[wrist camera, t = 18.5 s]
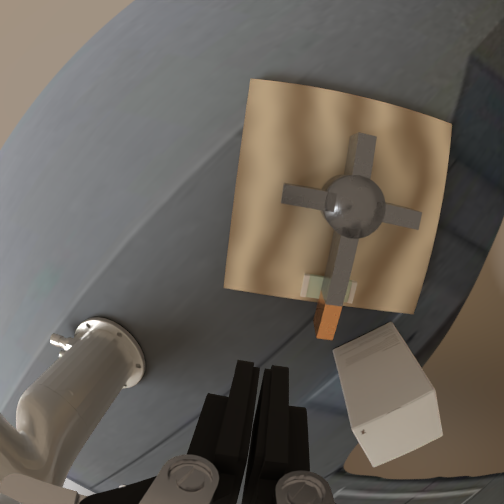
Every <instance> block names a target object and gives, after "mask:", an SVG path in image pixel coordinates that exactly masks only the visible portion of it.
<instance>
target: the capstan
mask: <svg viewBox="0 0 504 504" xmlns="http://www.w3.org/2000/svg"><path fill="white" fill-rule="evenodd" d="M376 139H377V136H373V135H369V134H364V133H360V132H358V133H356V134H354V135H352V136H350V138H349V145H348V152H347V158H346V165H345V171H344V174H341V175H337V176H335V177H333V178H331V179H330V180H328V181H327V182H326V183H325V185H324V186H323V188H322V189H319V188H314V187H308V186H302V185H297V184H291V183H285V182H284V183H283V189H282V196H281V203H282V204H288V205H294V206H299V207H305V208H311V209H316V210H320V211H321V214H322V216H323V217H324V219H325V220H326V221H327V222H328V223H329V225H330V226H331V227H332V228H333V229H334V232H333V237H332V242H331V247H330V251H329V256H328V261H327V265H326V270H325V274H324V279H323V283H322V287H321V292H320V296H319V300H318V304H317V308H316V312H315V316H314V320H313V322H314V327H315V333H316V338H319V339H327V340H333V337H334V334H335V331H336V327H337V324H338V320H339V317H340V313H341V309H342V306H343V302H344V298H345V295H346V291H347V287H348V283H349V279H350V275H351V271H352V267H353V263H354V258H355V254H356V250H357V245H358V241H359V238H363V237H366V236H368V235H370V234H372V233H373V232H374V231H376V230H377V229H378V227H379V226H380V225H381V223H382V222H383V223H388V224H393V225H397V226H402V227H407V228H411V229H416V230H419V226H420V221H421V216H422V212H420V211H417V210H414V209H411V208H408V207H404V206H400V205H396V204H391V203H387V202H385V198H384V195H383V193H382V191H381V189H380V188H379V186H378V185H377V184H376V183H375V182H374V181H372V180H371V172H372V166H373V160H374V153H375V146H376Z"/></svg>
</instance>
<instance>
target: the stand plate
mask: <svg viewBox="0 0 504 504" xmlns="http://www.w3.org/2000/svg"><path fill="white" fill-rule="evenodd" d="M451 130H452V124H450V123H448V122H445V121H442V120H439V119H437V118H434V117H431V116H428V115H425V114H422V113H419V112H415V111H412V110H409V109H406V108H402V107H399V106H395V105H392V104H388V103H385V102H381V101H377V100H373V99H369V98H365V97H361V96H357V95H352V94H348V93H343V92H338V91H333V90H328V89H323V88H317V87H311V86H305V85H299V84H292V83H285V82H277V81H269V80H260V79H251V80H250V87H249V94H248V100H247V107H246V114H245V121H244V128H243V136H242V143H241V150H240V158H239V165H238V173H237V180H236V188H235V196H234V204H233V212H232V220H231V228H230V237H229V245H228V254H227V262H226V271H225V280H224V288H228V289H234V290H240V291H246V292H252V293H258V294H265V295H271V296H278V297H284V298H291V299H298V300H305V301H312V302H318V300H319V299H317V298H309V297H301V296H300V293H301V288H302V283H303V278H304V273H307V274H313V275H320V276H324V274H325V270H326V265H327V261H328V256H329V251H330V247H331V242H332V237H333V232H334V229H333V228H332V227H331V226H330V225H329V223H328V222H327V221H326V220H325V219H324V217H323V216H322V214H321V211H320V210H316V209H311V208H305V207H299V206H294V205H288V204H282V203H281V196H282V189H283V183H284V182H285V183H291V184H297V185H302V186H308V187H314V188H319V189H322V188H323V186H324V185H325V183H326V182H327V181H328V180H330V179H331V178H333V177H335V176H337V175H341V174H344V171H345V165H346V158H347V152H348V145H349V138H350V136H352V135H354V134H356V133H358V132H360V133H364V134H369V135H373V136H377V139H376V146H375V153H374V160H373V166H372V172H371V180H372V181H374V182H375V183H376V184H377V185H378V186H379V188H380V189H381V191H382V193H383V195H384V198H385V202H387V203H391V204H396V205H400V206H404V207H408V208H411V209H414V210H417V211H420V212H422V216H421V221H420V226H419V230H416V229H411V228H407V227H402V226H397V225H393V224H388V223H383V222H382V223H381V225H380V226H379V227H378V229H377V230H376V231H374V232H373V233H372V234H370V235H368V236H366V237H363V238H359V241H358V245H357V250H356V254H355V258H354V263H353V267H352V271H351V275H350V279H349V280H354V281H357V287H356V291H355V295H354V299H353V302H352V304H351V303H346V302H343V306H349V307H357V308H365V309H373V310H382V311H390V312H399V313H408V314H414V311H415V308H416V305H417V301H418V298H419V295H420V292H421V288H422V285H423V282H424V278H425V275H426V271H427V267H428V264H429V260H430V256H431V252H432V248H433V244H434V239H435V235H436V230H437V226H438V221H439V216H440V211H441V205H442V200H443V194H444V188H445V182H446V175H447V168H448V160H449V151H450V141H451Z"/></svg>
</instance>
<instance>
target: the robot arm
mask: <svg viewBox="0 0 504 504" xmlns="http://www.w3.org/2000/svg"><path fill="white" fill-rule="evenodd" d="M50 342H51V344H52V345H55V346H57V347H60V348H64V349H65V351H64V350H61V351H60V353H59V356H60V358H59V359H58V360H56V361H55V362H54V363H53V364H52V365H51V366H50V367H49V368H48V369H47V370H46V371H45V372H44V373H43V374H42V375H41V376H40V377H39V378H38V379H37V380H36V381H35V382H34V383H33V384H32V385H31V386H29V387H28V388H27V389H26V391H25V392H24V393H23V394H22V396H21V397H20V400H19V402H18V406H17V412H16V429H15V428H14V427H13V426H12V425H10V423H9V422H8V421H7V420H6V419H5V418H4V417H3V416H2V414H1V413H0V504H236V503H237V499H238V495H239V491H240V487H241V483H242V479H243V475H244V471H245V466H246V462H247V457H248V451H249V457H248V464H247V471H246V478H245V485H244V491H243V498H242V504H336V503H335V502H334V498H333V495H332V491H331V488H330V486H329V484H328V482H327V481H326V480H325V479H324V478H323V477H321V476H320V475H318V474H316V473H313V472H310V463H309V442H308V424H307V411H306V408H304V407H295V406H289V368H288V367H281V366H274V365H272V367H271V369H265V370H264V375H263V380H262V385H261V390H260V395H259V400H258V404H257V409H256V414H255V418H254V423H253V416H254V409H255V401H256V394H257V386H258V378H259V371H260V368H258V367H253V366H254V362H247V361H241V360H238V361H237V365H236V369H235V374H234V378H233V382H232V386H231V390H230V394H229V397H226V396H220V395H215V394H210V393H208V394H207V396H206V399H205V402H204V405H203V408H202V411H201V414H200V417H199V420H198V423H197V426H196V429H195V432H194V435H193V438H192V441H191V444H190V447H189V450H188V453H187V455H180V456H175V457H174V458H172V459H170V460H168V461H167V462H166V463H165V465H164V466H163V467H162V469H161V470H160V472H159V474H158V475H157V476H155V477H152V478H149V479H146V480H143V481H140V482H137V483H134V484H130V485H127V486H124V487H120V488H116V489H113V490H109V491H105V492H101V493H97V494H93V495H90V496H84V495H80V494H78V493H77V491H73V490H69V489H66V488H62V487H63V484H64V481H65V479H66V476H67V474H68V472H69V470H70V468H71V466H72V464H73V462H74V460H75V459H76V457H77V455H78V454H79V452H80V451H81V449H82V448H83V446H84V444H85V443H86V441H87V440H88V438H89V437H90V435H91V434H92V432H93V431H94V429H95V428H96V426H97V425H98V423H99V422H100V420H101V419H102V417H103V416H104V414H105V413H106V412H107V410H108V409H109V407H110V406H111V404H112V403H113V401H114V400H115V398H116V397H117V395H118V394H119V392H120V391H121V390H122V388H130V387H133V386H135V385H136V384H137V383H138V382H139V381H140V380H141V378H142V377H143V375H144V372H145V359H144V355H143V352H142V350H141V348H140V346H139V344H138V343H137V341H136V340H135V339H134V338H133V336H132V335H131V334H130V333H129V332H128V331H127V330H126V329H124V328H123V327H122V326H120V325H119V324H117V323H115V322H113V321H111V320H108V319H106V318H100V317H93V318H89V319H87V320H85V321H83V322H82V323H81V324H80V325H79V326H78V328H77V329H76V331H75V335H74V338H71V337H68V338H64V337H63V336H61V335H58V334H55V333H53V334H52V336H51V338H50ZM252 423H253V429H252ZM251 430H252V436H251ZM250 437H251V443H250ZM249 444H250V450H249Z"/></svg>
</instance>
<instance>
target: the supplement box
mask: <svg viewBox="0 0 504 504" xmlns="http://www.w3.org/2000/svg"><path fill="white" fill-rule="evenodd" d="M333 354H334V358H335V362H336V366H337V370H338V374H339V378H340V382H341V386H342V390H343V394H344V398H345V402H346V407H347V411H348V415H349V420H350V424H351V429H352V431H353V433H354V435H355V436H356V438H357V440H358V442H359V443H360V445H361V446H362V448H363V450H364V452H365V454H366V455H367V457H368V458H369V460H370V462H371V464H372V466H373V467H376V466H378V465H380V464H383V463H385V462H388V461H390V460H393V459H395V458H397V457H400V456H402V455H404V454H406V453H409V452H411V451H413V450H415V449H417V448H419V447H421V446H423V445H425V444H427V443H429V442H431V441H433V440H435V439H437V438H439V437H441V436H443V433H442V427H441V421H440V415H439V409H438V403H437V396H436V391H435V388H434V387H433V385H432V384H431V382H430V381H429V379H428V378H427V376H426V374H425V373H424V371H423V370H422V368H421V366H420V365H419V363H418V362H417V360H416V358H415V357H414V355H413V354H412V352H411V351H410V349H409V347H408V346H407V344H406V343H405V341H404V340H403V338H402V337H401V335H400V334H399V332H398V331H397V329H396V328H395V326H394V324H393V323H392V322H389V323H387V324H385V325H383V326H381V327H379V328H377V329H375V330H373V331H371V332H369V333H367V334H365V335H363V336H361V337H359V338H357V339H355V340H352V341H350V342H348V343H346V344H344V345H342V346H340V347H337V348H335V349H333Z"/></svg>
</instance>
